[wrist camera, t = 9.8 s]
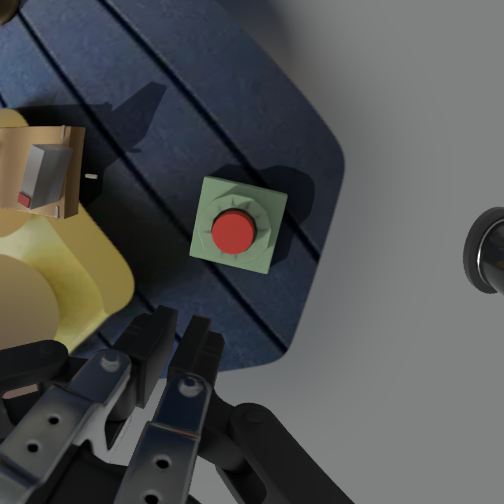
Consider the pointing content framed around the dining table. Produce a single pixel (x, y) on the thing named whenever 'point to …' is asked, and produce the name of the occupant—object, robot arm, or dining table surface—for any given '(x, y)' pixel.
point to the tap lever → (44, 175)
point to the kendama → (7, 10)
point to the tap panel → (15, 158)
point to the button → (233, 232)
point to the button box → (249, 202)
